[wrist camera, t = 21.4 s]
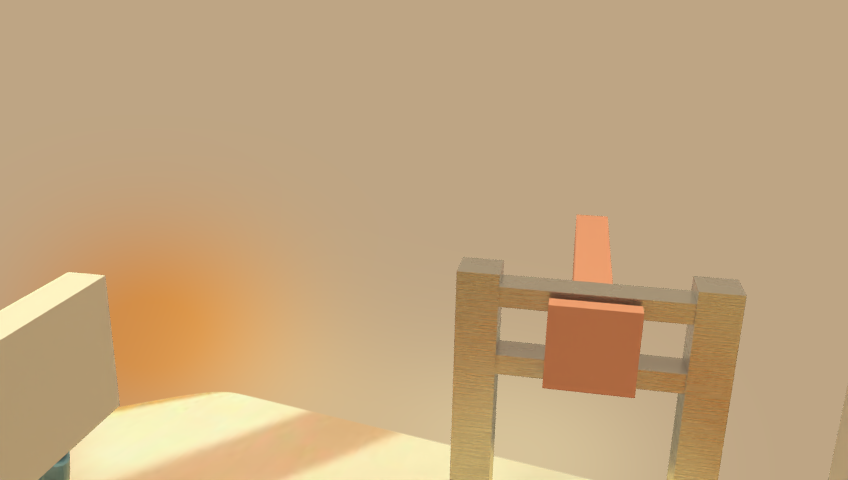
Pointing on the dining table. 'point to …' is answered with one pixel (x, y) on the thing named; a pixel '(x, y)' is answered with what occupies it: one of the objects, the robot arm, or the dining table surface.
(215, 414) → the dining table surface
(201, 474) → the dining table surface
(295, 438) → the dining table surface
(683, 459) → the frame
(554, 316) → the bar
